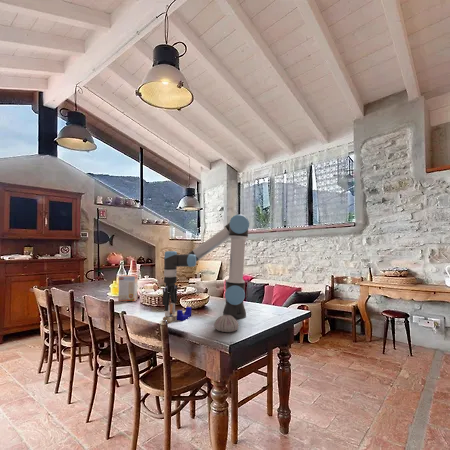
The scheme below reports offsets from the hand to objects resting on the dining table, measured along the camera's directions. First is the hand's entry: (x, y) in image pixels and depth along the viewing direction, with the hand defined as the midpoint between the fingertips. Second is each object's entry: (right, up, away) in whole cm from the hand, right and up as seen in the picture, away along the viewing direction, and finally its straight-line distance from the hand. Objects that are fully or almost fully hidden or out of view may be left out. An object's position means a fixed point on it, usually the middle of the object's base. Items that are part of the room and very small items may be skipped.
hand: (170, 314), depth 178 cm
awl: (0, -4, 0) cm, 4 cm away
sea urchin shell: (+34, -3, -18) cm, 39 cm away
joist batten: (+2, -4, +5) cm, 7 cm away
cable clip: (+8, -5, +7) cm, 12 cm away
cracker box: (-47, -9, +64) cm, 80 cm away
